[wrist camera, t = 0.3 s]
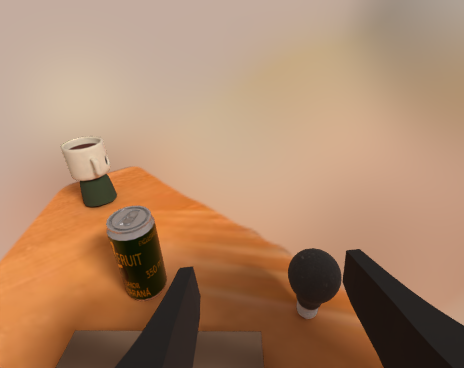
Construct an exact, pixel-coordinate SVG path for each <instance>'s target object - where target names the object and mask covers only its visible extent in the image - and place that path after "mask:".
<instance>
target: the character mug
mask: <svg viewBox="0 0 464 368" xmlns="http://www.w3.org/2000/svg"><path fill="white" fill-rule="evenodd" d="M61 150H62V152H63V155H64V158H65V160H66V163H67V166H68V168H69V171H70V173H71V176H72V178H73V179H75V180H80V187H81V193H82V197H83V201H84V204H85V205H86V206H90V207H94V206H100V205H103V204H107V203H109V202H112V201H113V200H114V199H115V198H116V196H117V194H116V191H115V189H114V186H113V184H112V182H111V180H110V178H109V176H108V175H107V174H106V173H107V172H108V171H109V170H110V167H111V166H110V162H109V160H108V156H107V152H106V149H105V146H104V142H103V139H102V138H100V137H94V136H89V137H81V138H76V139H72V140H69V141H67V142H65V143H63V144H62V145H61Z"/></svg>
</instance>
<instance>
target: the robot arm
mask: <svg viewBox="0 0 464 368" xmlns="http://www.w3.org/2000/svg"><path fill="white" fill-rule="evenodd" d="M343 284H344V287H345V290H346V292H347V295H348V297H349V300H350V302H351V305H352V306H353V308H354V310H355V312H356V314H357V316H358V318H359V320H360V322H361V324H362V326H363V328H364V329H365V331H366V333H367V335H368V337H369V339H370V341H371V343H372V345H373V347H374V348H375V350H376V352H377V354H378V356H379V358H380V360H381V362H382V365H383V367H384V368H464V326H463V325H462V324H460V323H458V322H457V321H455V320H454V319H452V318H450V317H449V316H447V315H445V314H444V313H443V312H441V311H440V310H438V309H436V308H435V307H433V306H432V305H430V304H429V303H428V302H426V301H425V300H423V299H422V298H421V297H419V296H418V295H416V294H415V293H414V292H412V291H411V290H410V289H408V288H407V287H406V286H404V285H403V284H402V283H400V282H399V281H398V280H397V279H395V278H394V277H393V276H392V275H390V274H389V273H388V272H387V271H385V270H384V269H383V268H382V267H381V266H379V265H378V264H377V263H376V262H374V261H373V260H372V259H371V258H369V257H368V256H367V255H366V254H365V253H364V252H362V251H361V250H360V249H356V250H347V251H346V258H345V266H344V274H343ZM199 319H200V293H199V289H198V285H197V281H196V277H195V273H194V269H193V267H185V268H180V269H179V270H178V272H177V274H176V276H175V278H174V280H173V282H172V284H171V286H170V287H169V289H168V291H167V293H166V295H165V296H164V298H163V300H162V301H161V303H160V305H159V307H158V308H157V310H156V311H155V313H154V315H153V316H152V318H151V319H150V321H149V322H148V324H147V325H146V327H145V328H144V330H143V331H142V333H141V334H140V335H139V337H138V338H137V340H136V341H135V342H134V344H133V345H132V346H131V348H130V349H129V350H128V351H127V353H126V354H125V355H124V356H123V358H122V359H121V360H120V361H119V362H118V364H117V365H116V366H115V367H114V368H193V362H194V355H195V348H196V341H197V334H198V327H199Z"/></svg>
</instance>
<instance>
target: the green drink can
mask: <svg viewBox="0 0 464 368" xmlns="http://www.w3.org/2000/svg"><path fill="white" fill-rule="evenodd" d="M106 225H107V235H108V238H109V240H110V243H111V246H112V249H113V252H114V255H115V258H116V261H117V263H118V266H119V269H120V272H121V275H122V278H123V281H124V284H125V286H126V289H127V292H128V294H129V295H130V296H131V297H132V298H134V299H136V300H138V301H148V300H151V299H153V298H155V297H157V296H158V295H159V294H160V293H161V292H162V291H163V289H164V287H165V285H166V281H167V276H166V271H165V267H164V262H163V257H162V253H161V248H160V244H159V239H158V234H157V230H156V225H155V221H154V218H153V216H152V215H151V212H150V211H149V209H147V208H145V207H142V206H129V207H125V208H122V209H120V210H118V211H116V212H114V213H113V214H112V215H111V216H110V217H109V218H108V220H107V223H106Z"/></svg>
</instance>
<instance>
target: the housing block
mask: <svg viewBox="0 0 464 368" xmlns="http://www.w3.org/2000/svg"><path fill="white" fill-rule="evenodd" d="M141 333H142V331H75V332H74V334H73V336H72V338H71V340H70V342H69V343H68V345H67V347H66V349H65V351H64V353H63V355H62V357H61V358H60V360H59V362H58V364H57V366H56V368H114V367H115V366H116V365H117V364H118V362H119V361H120V360H121V359H122V358H123V356H124V355H125V354H126V353H127V351H128V350H129V349H130V348H131V346H132V345H133V344H134V342H135V341H136V340H137V338H138V337H139V335H140V334H141ZM193 368H264V361H263V349H262V336H261V332H254V331H198V334H197V341H196V348H195V355H194V362H193Z"/></svg>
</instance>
